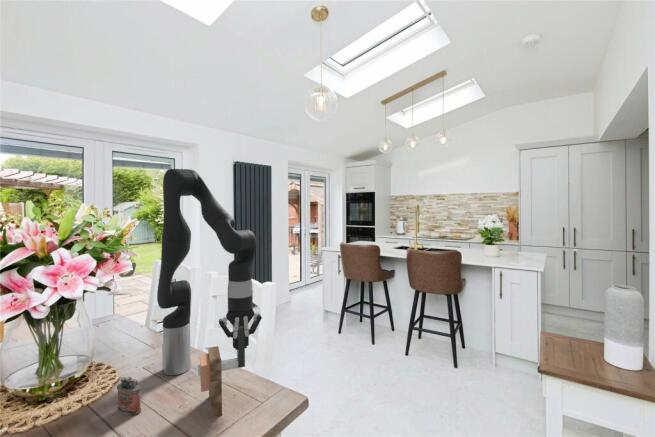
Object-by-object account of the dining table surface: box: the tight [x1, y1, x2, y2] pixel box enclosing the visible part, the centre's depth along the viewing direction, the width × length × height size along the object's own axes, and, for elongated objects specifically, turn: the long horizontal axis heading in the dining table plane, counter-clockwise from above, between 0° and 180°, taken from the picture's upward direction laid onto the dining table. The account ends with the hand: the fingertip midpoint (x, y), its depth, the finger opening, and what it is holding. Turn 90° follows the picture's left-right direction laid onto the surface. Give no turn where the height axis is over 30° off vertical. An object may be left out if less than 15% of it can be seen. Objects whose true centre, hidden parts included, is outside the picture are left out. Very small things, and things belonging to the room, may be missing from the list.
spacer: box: [199, 353, 210, 393], centre depth 94 cm, size 2×8×8 cm, turn 24°
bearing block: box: [207, 346, 223, 419], centre depth 95 cm, size 3×11×16 cm, turn 24°
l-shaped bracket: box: [197, 326, 246, 377], centre depth 96 cm, size 14×3×12 cm, turn 114°
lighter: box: [116, 376, 142, 417], centre depth 93 cm, size 8×3×10 cm, turn 70°
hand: (240, 347), depth 98 cm, fingers closed on l-shaped bracket, 2 cm apart
